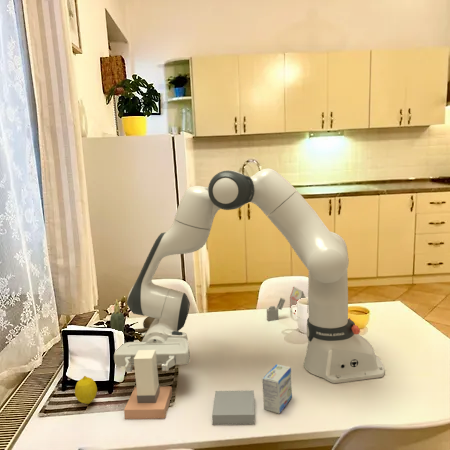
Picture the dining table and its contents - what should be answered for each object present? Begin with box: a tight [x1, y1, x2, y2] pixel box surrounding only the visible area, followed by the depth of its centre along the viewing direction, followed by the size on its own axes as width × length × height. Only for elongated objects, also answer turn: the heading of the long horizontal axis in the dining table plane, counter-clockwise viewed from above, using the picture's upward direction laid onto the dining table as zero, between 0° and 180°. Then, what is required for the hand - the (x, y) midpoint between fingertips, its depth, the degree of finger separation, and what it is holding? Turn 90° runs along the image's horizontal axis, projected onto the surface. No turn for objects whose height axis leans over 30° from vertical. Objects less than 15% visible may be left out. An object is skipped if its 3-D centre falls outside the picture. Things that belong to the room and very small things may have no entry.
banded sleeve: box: [133, 350, 160, 403], centre depth 106 cm, size 5×5×12 cm
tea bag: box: [289, 286, 307, 312], centre depth 161 cm, size 4×7×10 cm, turn 21°
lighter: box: [266, 297, 286, 322], centre depth 157 cm, size 7×2×8 cm, turn 105°
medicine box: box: [261, 363, 293, 415], centre depth 105 cm, size 8×4×9 cm, turn 148°
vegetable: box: [109, 298, 127, 343], centre depth 130 cm, size 4×4×20 cm
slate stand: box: [211, 389, 256, 426], centre depth 103 cm, size 10×10×2 cm
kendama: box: [133, 316, 155, 335], centre depth 147 cm, size 6×10×20 cm
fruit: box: [74, 375, 98, 405], centre depth 109 cm, size 6×6×8 cm
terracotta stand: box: [123, 385, 173, 420], centre depth 107 cm, size 10×10×2 cm
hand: (146, 368), depth 105 cm, fingers open, 8 cm apart
